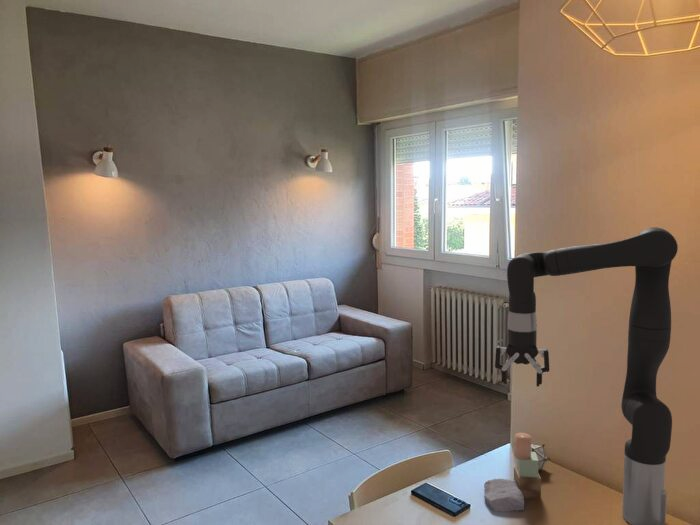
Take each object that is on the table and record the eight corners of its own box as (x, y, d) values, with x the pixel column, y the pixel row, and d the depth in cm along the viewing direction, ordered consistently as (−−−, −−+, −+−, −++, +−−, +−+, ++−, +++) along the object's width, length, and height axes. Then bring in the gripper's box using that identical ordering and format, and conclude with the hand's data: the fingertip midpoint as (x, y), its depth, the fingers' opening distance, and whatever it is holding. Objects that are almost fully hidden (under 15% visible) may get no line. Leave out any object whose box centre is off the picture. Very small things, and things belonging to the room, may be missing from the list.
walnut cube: (534, 486, 155) (535, 467, 154) (540, 498, 149) (541, 478, 148) (513, 486, 155) (513, 467, 155) (518, 498, 149) (519, 478, 149)
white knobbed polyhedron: (539, 478, 166) (559, 454, 165) (533, 481, 159) (554, 455, 158) (516, 457, 171) (535, 433, 170) (509, 458, 164) (529, 433, 163)
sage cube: (535, 468, 153) (535, 452, 153) (538, 477, 149) (538, 460, 148) (517, 467, 154) (517, 451, 154) (519, 476, 149) (519, 459, 149)
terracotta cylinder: (530, 453, 152) (530, 433, 151) (531, 460, 148) (531, 440, 147) (514, 451, 153) (514, 431, 153) (514, 459, 149) (514, 438, 148)
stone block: (491, 518, 144) (528, 511, 143) (487, 502, 143) (524, 494, 143) (482, 495, 155) (516, 488, 155) (478, 480, 155) (513, 473, 154)
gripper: (494, 329, 145) (494, 387, 147) (550, 331, 140) (549, 391, 142) (495, 323, 152) (495, 378, 154) (549, 325, 147) (548, 381, 149)
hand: (521, 384), depth 148 cm, fingers open, 8 cm apart
